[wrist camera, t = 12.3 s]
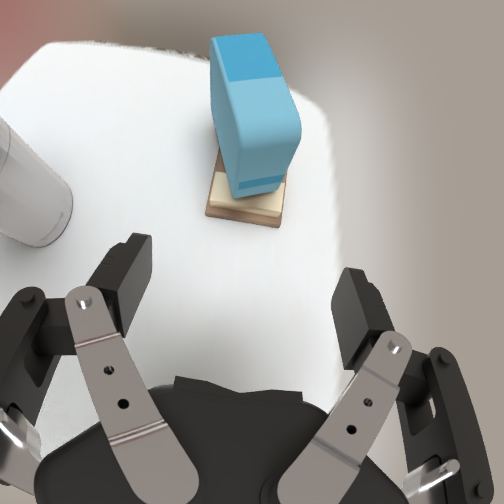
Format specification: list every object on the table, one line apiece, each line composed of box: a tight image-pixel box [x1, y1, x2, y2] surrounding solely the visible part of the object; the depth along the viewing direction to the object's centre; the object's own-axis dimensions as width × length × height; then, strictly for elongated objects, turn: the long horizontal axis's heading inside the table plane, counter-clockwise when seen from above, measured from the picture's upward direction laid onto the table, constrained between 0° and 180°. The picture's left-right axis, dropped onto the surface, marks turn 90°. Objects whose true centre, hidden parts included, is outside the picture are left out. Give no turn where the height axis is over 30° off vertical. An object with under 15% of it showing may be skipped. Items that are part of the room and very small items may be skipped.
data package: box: [210, 33, 302, 198], centre depth 26 cm, size 12×4×12 cm, turn 14°
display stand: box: [205, 146, 287, 228], centre depth 34 cm, size 8×13×3 cm, turn 172°
